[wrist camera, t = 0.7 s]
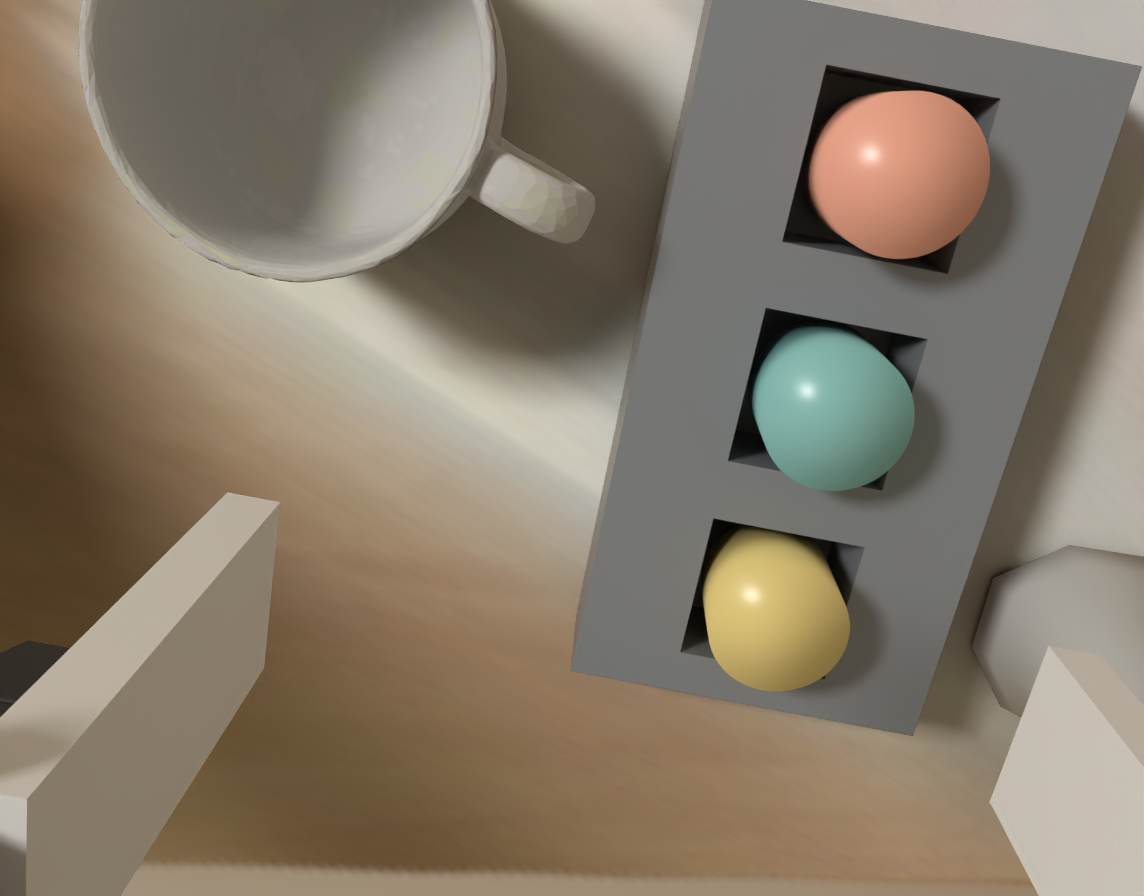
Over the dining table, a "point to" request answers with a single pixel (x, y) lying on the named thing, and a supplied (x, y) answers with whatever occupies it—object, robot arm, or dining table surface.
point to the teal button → (829, 406)
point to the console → (847, 296)
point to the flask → (1062, 619)
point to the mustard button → (772, 608)
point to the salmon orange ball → (897, 172)
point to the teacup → (312, 127)
